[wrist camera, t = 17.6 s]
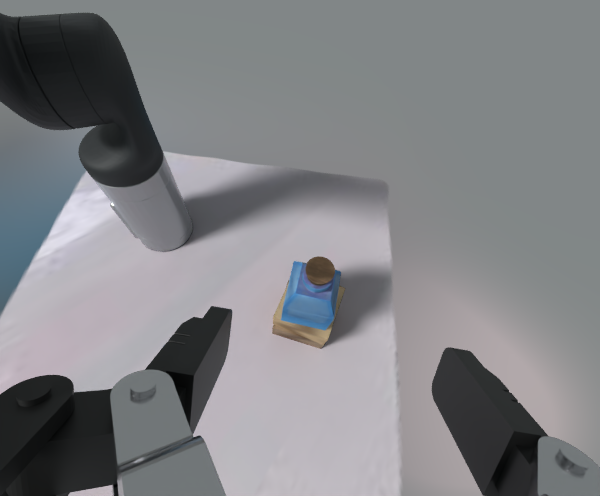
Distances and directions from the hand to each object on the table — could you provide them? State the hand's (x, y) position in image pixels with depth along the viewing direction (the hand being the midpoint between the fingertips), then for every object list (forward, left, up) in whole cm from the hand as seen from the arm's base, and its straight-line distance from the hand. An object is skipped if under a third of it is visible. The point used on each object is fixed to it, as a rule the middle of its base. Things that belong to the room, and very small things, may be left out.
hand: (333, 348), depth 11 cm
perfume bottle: (0, +11, -29) cm, 31 cm away
